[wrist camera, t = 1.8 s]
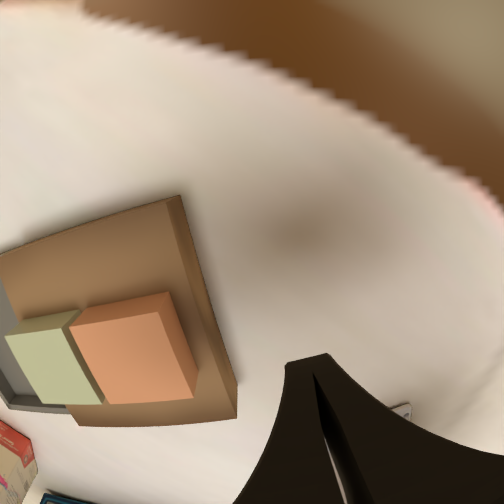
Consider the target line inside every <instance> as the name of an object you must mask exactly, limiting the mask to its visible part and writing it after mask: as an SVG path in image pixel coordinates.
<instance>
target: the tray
mask: <svg viewBox="0 0 504 504" xmlns="http://www.w3.org/2000/svg"><path fill="white" fill-rule="evenodd" d="M18 248H19V247H18ZM15 249H17V248H15ZM12 250H14V249H12ZM12 250H10V251H12ZM10 251H7V252H5V253H2V254H0V256H2V255H4V254H6V253H8V252H10ZM17 324H19V322H18V319H17V317H16V315H15V313H14V310H13V308H12V306H11V303H10V301H9V298H8V296H7V293H6V291H5V288H4V286H3V283H2V280H1V278H0V396H1V398H2V400H3V401H4V403H5V404H6V405H7V407H8V408H9V409H12V410H20V411H30V412H41V413H54V414H70V412H69V411H68V409H67V408H66V406H65V405H64V404H45V403H42V401H41V400H40V398H39V397H38V395H37V394H36V392H35V391H34V389H33V387H32V386H31V384H30V383H29V381H28V379H27V378H26V376H25V374H24V372H23V371H22V369H21V367H20V365H19V364H18V362H17V360H16V358H15V356H14V354H13V353H12V351H11V349H10V347H9V345H8V343H7V341H6V339H5V337H4V336H5V335H6V334H7V333H8V332H9V331H11V330H12V329H13V328H14V327H15V326H16V325H17Z"/></svg>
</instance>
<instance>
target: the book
mask: <svg viewBox="0 0 504 504" xmlns="http://www.w3.org/2000/svg"><path fill="white" fill-rule="evenodd" d="M40 504H90V503H85V502H80V501H76V500H71V499H67V498H63V497H59V496H55V495H51V494H47V493H44V495H43V497H42V500H41V502H40Z"/></svg>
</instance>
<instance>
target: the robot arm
mask: <svg viewBox="0 0 504 504" xmlns="http://www.w3.org/2000/svg"><path fill="white" fill-rule="evenodd" d="M411 413H412V407H411V405H410V404H405V405H402V406H400V407H397V408H394V409H389V408H388V407H387V406H385V405H384V404H383V403H381V402H380V401H378V400H377V399H376V398H375V397H373V396H372V395H371V394H370V393H368V392H367V391H366V390H365V389H364V388H363V387H361V386H360V385H359V384H358V383H357V382H356V381H355V380H353V379H352V378H351V377H350V376H349V375H348V374H347V373H346V372H345V371H344V370H343V369H342V368H341V367H340V366H339V365H338V364H337V362H336V361H335V360H334V359H333V358H332V357H331V355H329V354H328V353H324V354H321V355H317V356H313V357H308V358H304V359H300V360H296V361H291V362H287V364H286V365H285V379H284V387H283V393H282V397H281V401H280V405H279V410H278V413H277V417H276V420H275V423H274V425H273V428H272V431H271V434H270V437H269V439H268V442H267V444H266V447H265V449H264V451H263V453H262V455H261V457H260V459H259V462H258V464H257V465H256V467H255V469H254V471H253V473H252V474H251V476H250V478H249V480H248V481H247V483H246V485H245V486H244V488H243V489H242V491H241V493H240V494H239V495H238V497H237V498H236V500H235V501H234V502H233V504H504V456H503V455H498V454H493V453H488V452H483V451H479V450H476V449H473V448H469V447H466V446H463V445H460V444H458V443H455V442H453V441H450V440H448V439H445V438H443V437H440V436H438V435H436V434H433V433H431V432H429V431H427V430H425V429H423V428H421V427H419V426H417V425H415V424H413V423H412V422H410V419H411Z"/></svg>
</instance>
